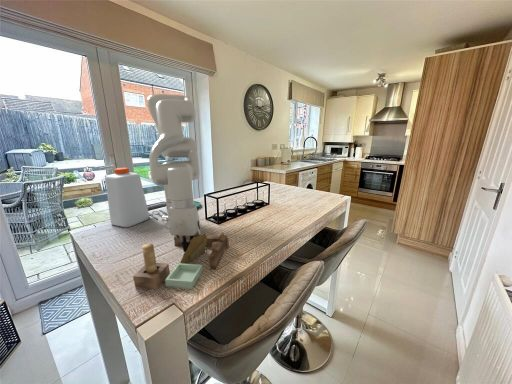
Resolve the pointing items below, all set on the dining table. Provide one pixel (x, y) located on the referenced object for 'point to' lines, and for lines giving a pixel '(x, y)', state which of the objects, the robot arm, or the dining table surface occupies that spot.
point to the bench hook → (213, 247)
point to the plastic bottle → (126, 198)
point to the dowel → (149, 258)
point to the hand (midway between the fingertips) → (187, 250)
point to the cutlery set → (167, 214)
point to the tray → (184, 276)
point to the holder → (151, 277)
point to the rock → (195, 249)
